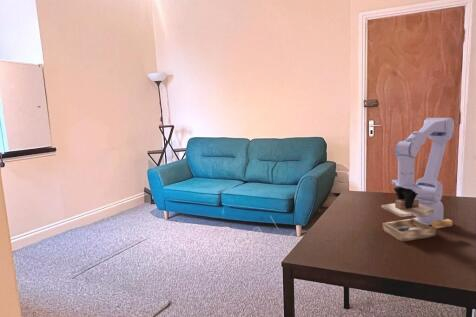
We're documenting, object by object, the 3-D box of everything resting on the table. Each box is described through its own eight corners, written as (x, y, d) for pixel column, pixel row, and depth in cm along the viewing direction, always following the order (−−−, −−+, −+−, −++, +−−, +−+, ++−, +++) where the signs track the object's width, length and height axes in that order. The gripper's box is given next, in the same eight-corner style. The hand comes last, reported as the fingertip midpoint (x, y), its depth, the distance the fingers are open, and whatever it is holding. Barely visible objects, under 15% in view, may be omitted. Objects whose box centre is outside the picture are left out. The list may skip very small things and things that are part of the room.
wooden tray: (413, 225, 140) (413, 218, 139) (435, 236, 128) (435, 228, 128) (382, 230, 137) (382, 223, 137) (402, 241, 126) (402, 234, 125)
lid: (411, 203, 140) (412, 193, 139) (440, 214, 126) (440, 204, 125) (381, 207, 137) (381, 198, 137) (406, 219, 123) (406, 209, 122)
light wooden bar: (448, 224, 128) (448, 218, 128) (452, 225, 126) (452, 220, 126) (431, 226, 127) (431, 221, 126) (435, 228, 125) (436, 223, 125)
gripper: (385, 170, 137) (385, 202, 139) (410, 177, 123) (409, 213, 125) (400, 168, 138) (400, 200, 140) (427, 175, 124) (426, 210, 126)
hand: (405, 206), depth 133 cm, fingers closed on lid, 3 cm apart
